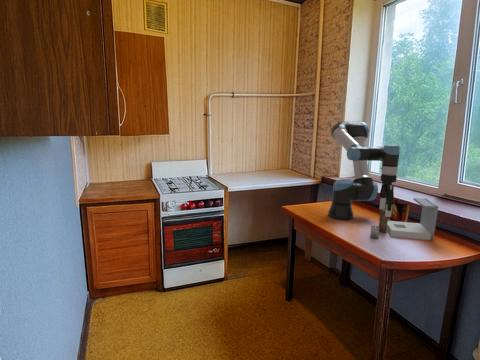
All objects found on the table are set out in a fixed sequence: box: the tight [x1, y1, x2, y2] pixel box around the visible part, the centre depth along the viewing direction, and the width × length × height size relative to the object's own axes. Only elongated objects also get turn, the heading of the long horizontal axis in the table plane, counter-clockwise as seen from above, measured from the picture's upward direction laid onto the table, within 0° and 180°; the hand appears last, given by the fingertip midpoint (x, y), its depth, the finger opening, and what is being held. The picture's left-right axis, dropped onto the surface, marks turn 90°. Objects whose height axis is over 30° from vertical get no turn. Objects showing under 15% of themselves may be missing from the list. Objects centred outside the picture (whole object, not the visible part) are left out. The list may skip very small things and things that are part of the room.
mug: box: [389, 199, 410, 222], centre depth 180 cm, size 10×14×12 cm
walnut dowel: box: [378, 209, 389, 234], centre depth 163 cm, size 4×4×12 cm
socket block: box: [386, 197, 439, 241], centre depth 161 cm, size 16×20×18 cm
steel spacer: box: [369, 225, 380, 240], centre depth 155 cm, size 4×4×6 cm
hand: (384, 212), depth 161 cm, fingers open, 13 cm apart
